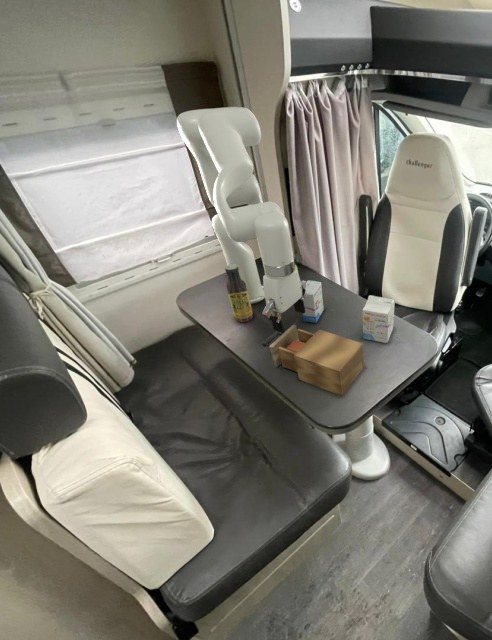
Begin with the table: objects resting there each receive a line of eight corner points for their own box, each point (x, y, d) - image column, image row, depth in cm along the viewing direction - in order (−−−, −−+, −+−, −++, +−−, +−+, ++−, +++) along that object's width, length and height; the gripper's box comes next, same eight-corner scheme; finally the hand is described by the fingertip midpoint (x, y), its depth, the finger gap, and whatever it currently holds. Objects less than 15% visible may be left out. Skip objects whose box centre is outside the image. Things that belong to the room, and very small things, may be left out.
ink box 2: (362, 339, 119) (361, 305, 110) (369, 324, 125) (369, 290, 116) (387, 343, 117) (388, 309, 108) (393, 328, 123) (395, 294, 114)
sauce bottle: (236, 324, 125) (219, 273, 111) (234, 315, 129) (218, 264, 115) (255, 320, 126) (241, 269, 113) (253, 311, 131) (239, 260, 117)
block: (288, 358, 109) (285, 347, 106) (297, 350, 112) (294, 339, 109) (300, 363, 107) (298, 352, 105) (309, 354, 110) (307, 343, 107)
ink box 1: (317, 323, 125) (312, 294, 117) (303, 321, 126) (298, 292, 118) (324, 309, 131) (321, 280, 123) (311, 307, 132) (307, 279, 124)
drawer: (260, 360, 110) (254, 341, 105) (283, 339, 117) (279, 319, 112) (312, 380, 104) (308, 360, 99) (333, 356, 111) (330, 336, 106)
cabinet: (298, 379, 105) (293, 354, 99) (322, 353, 114) (319, 329, 107) (342, 396, 101) (339, 371, 94) (363, 367, 109) (362, 343, 103)
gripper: (288, 248, 96) (297, 301, 108) (243, 279, 85) (259, 334, 97) (311, 254, 94) (318, 308, 106) (269, 287, 83) (281, 343, 94)
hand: (290, 321), depth 101 cm, fingers open, 9 cm apart
